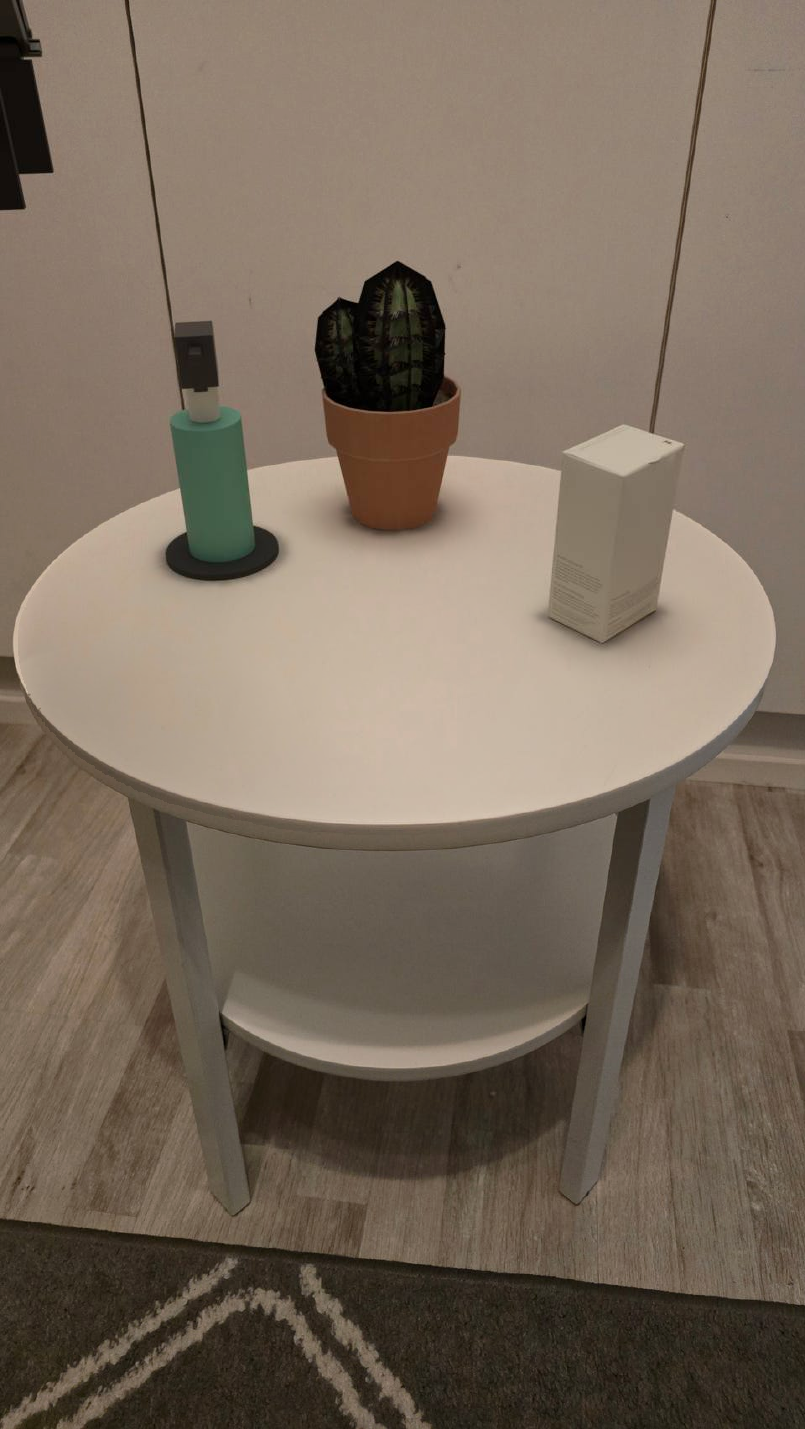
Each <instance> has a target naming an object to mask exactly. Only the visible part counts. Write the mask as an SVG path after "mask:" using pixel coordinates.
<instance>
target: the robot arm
mask: <svg viewBox="0 0 805 1429" xmlns="http://www.w3.org/2000/svg"><path fill="white" fill-rule="evenodd" d="M33 37H34V36H33V31H32V28H30V24H29V22H28V17H27V14H26V9H25V5H24V2H23V0H0V211H21V210H25V209H26V208H27V204H26V201H25V196H24V190H23V185H22V182H21V177H20V175H40V174H53V173H54V172H55V171H54V169H55V168H54V164H53V159H52V155H51V150H50V144H49V139H48V135H47V130H46V124H45V119H44V114H43V108H42V104H41V99H40V94H39V89H38V84H37V79H36V73H35V68H34V64H33V59H32V58H42V57H43V49H42V43H41V40H40V38H33ZM25 58H26V59H25Z"/></svg>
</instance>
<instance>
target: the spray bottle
mask: <svg viewBox="0 0 805 1429" xmlns="http://www.w3.org/2000/svg"><path fill="white" fill-rule="evenodd" d="M173 341H174V346H175V353H176V362H177V365H178V366H177V368H178V374H179V381H180V388H181V390H185V396H186V402H187V408H185V409H182V410H180V411H178V412H176V413H174V414H172V416H170V418H169V427H170V433H171V440H172V446H173V452H174V458H175V465H176V471H177V472H176V473H177V478H178V486H179V491H180V497H181V504H182V509H183V511H182V512H183V516H184V523H185V529H186V532H187V537H188V543H189V549H190V553H191V554H192V556H193V557H195V558H197V559H199V560H202V561H206V562H214V563H220V562H229V561H234V560H238V559H241V558H243V557H245V556H247V555H249V554H250V553H251V552H252V551H253V550H254V548H255V537H254V528H253V525H254V521H253V520H254V519H253V511H252V510H253V509H252V503H251V494H250V484H249V476H248V475H249V474H248V466H247V465H248V464H247V458H246V450H245V449H246V448H245V440H244V432H243V429H244V428H243V422H242V421H243V420H242V415H241V412H240V411H238V410H237V409H235V408H233V407H228V406H223V405H220V398H219V397H220V396H219V390H218V387H220V383H219V382H220V381H219V366H218V357H217V350H216V341H215V332H214V324H213V320H198V321H179V322H174V335H173Z"/></svg>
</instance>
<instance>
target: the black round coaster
mask: <svg viewBox="0 0 805 1429" xmlns="http://www.w3.org/2000/svg"><path fill="white" fill-rule="evenodd" d="M253 528H254V537H255V548H254V550H253V551H252V552H251V553H250V554H249V555H247V556H245V557H243V558H241V559H238V560H234V561H229V562H220V563H214V562H206V561H202V560H199V559H197V558H195V557H193V556H192V554H191V553H190V549H189V543H188V537H187V531H185V532H183V533H181V534H180V535H178V536H176V537H175V538H173V540H171V541H170V542H169V544H168V545H167V547H166V549H165V554H164V555H165V560H166V564H167V565H168V567H169V568H170V569H171V570H173V571H174V572H176V573H177V574H179V575H181V576H184V577H188V578H191V579H197V580H202V581H203V580H204V581H223V580H232V579H237V578H238V579H239V578H241V577H246V576H248V575H252V574H255V573H257V572H260V571H261V570H263V569H265V568H266V567H268V566H269V565H271V564H272V563H273V562H274V561H275V559H276V558H277V556H278V554H279V552H280V551H279V550H280V547H279V541H278V539H277V537H276V536H275V535H274V534H273V533H272V532H271V531H269V530H267V529H266V528H263V527H260V526H257V525H254V524H253Z"/></svg>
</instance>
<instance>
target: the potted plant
mask: <svg viewBox="0 0 805 1429" xmlns="http://www.w3.org/2000/svg"><path fill="white" fill-rule="evenodd" d="M316 323H317V324H316V332H315V342H314V354H315V358H316V359H315V360H316V362H317V366H318V369H319V373H320V379H321V382H322V384H323V388H322V389H321V397H322V405H323V415H324V424H325V433H326V438H327V443H328V445H329V446H331V447H332V448H334V450H335V452H336V456H337V460H338V463H339V468H340V471H341V476H342V479H343V483H344V487H345V490H346V494H347V495H346V496H347V498H348V502H349V507H350V511H351V514H352V518H353V519H355V520H356V521H357V523H359V524H360V525H361V524H362V525H364V526H366V527H368V528H372V529H377V530H381V531H404V530H410V529H413V528H418V527H420V526H422V525H424V524H427V523H428V522H429V521H431V519H433V518H434V517H435V514H436V511H437V506H438V501H439V496H440V494H441V493H440V492H441V487H442V482H443V478H444V474H445V469H446V465H447V459H448V456H449V450H450V447H451V446H453V445H455V443H457V437H458V435H459V423H460V411H461V410H460V409H461V397H462V387H461V386H460V385H459V383H458V381H457V380H456V379H454V378H452V377H451V376H449V375H447V374H445V357H446V353H447V352H446V329H447V328H446V323H445V320H444V316H443V313H442V311H441V307H440V304H439V302H438V298H437V295H436V292H435V288H434V285H433V282H432V281H431V280H430V279H428V278H427V277H426V276H425V275H424V274H422V273H421V272H418V271H416V270H415V269H413V268H411V267H410V266H408V265H406V264H405V263H403V262H401V261H399V260H395V261H394V262H392V263H391V264H390V265H387V266H386V267H385V268H383V269H381V270H380V271H379V272H377V273H375V274H374V275H372V276H370V277H369V278H367V279H365V280H364V282H363V285H362V289H361V292H360V295H359V298H358V301H357V302H356V301H352V300H348V299H346V298H342V297H341V296H338V297H337V298H336V300H335V301H333V303H331V304H330V305H328V307H327V308H326V309H324V310H323V311H322V312H321V314H320V315H319V316H318V317H317V322H316Z"/></svg>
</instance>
